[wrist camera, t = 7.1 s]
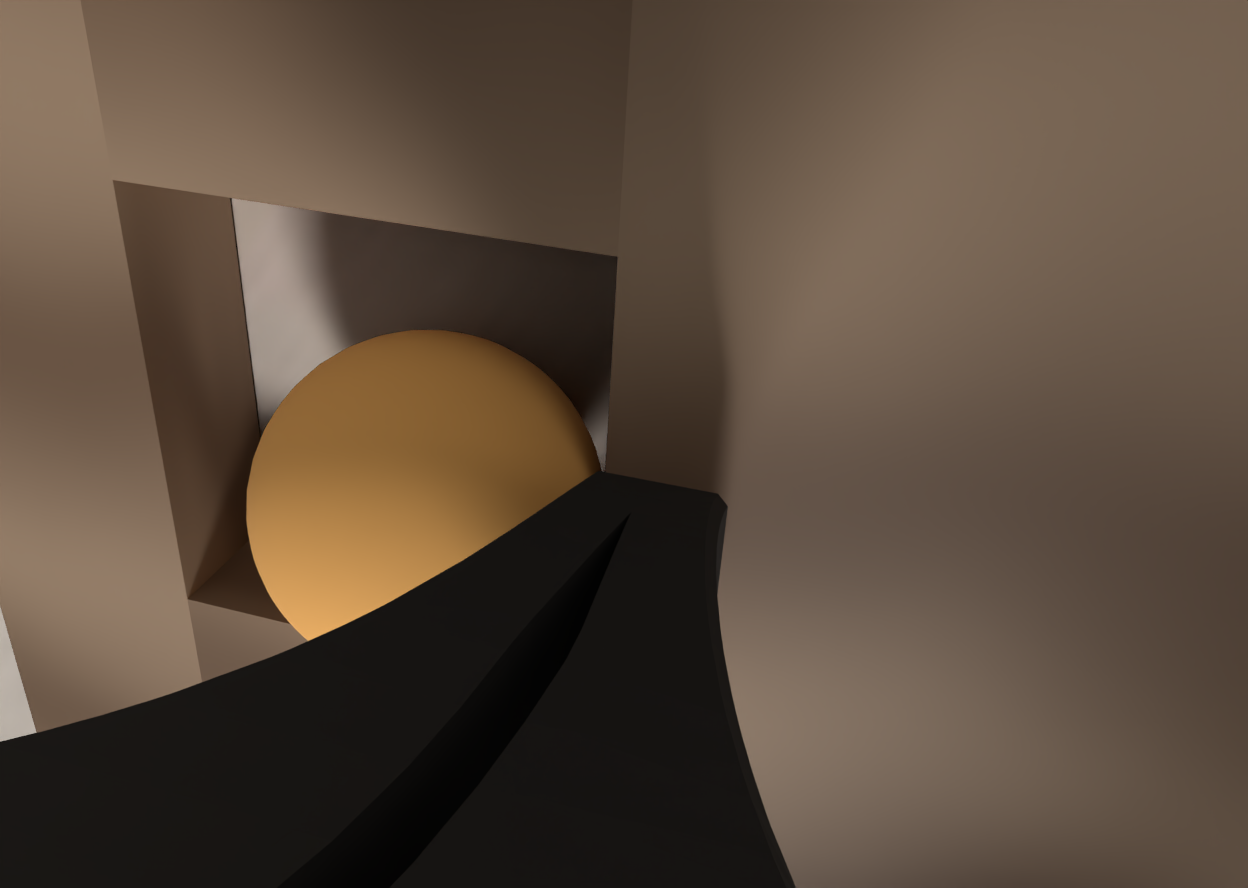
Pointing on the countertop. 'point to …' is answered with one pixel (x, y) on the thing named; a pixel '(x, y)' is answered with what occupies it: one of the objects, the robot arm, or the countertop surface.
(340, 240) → the countertop surface
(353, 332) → the countertop surface
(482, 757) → the robot arm
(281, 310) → the countertop surface
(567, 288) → the countertop surface
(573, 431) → the ball
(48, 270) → the board
